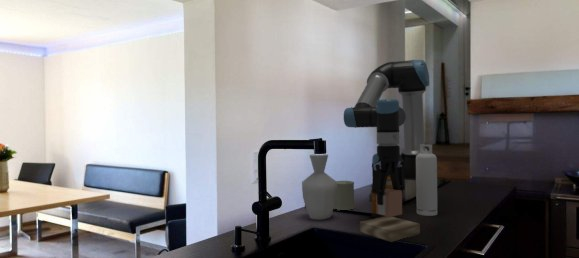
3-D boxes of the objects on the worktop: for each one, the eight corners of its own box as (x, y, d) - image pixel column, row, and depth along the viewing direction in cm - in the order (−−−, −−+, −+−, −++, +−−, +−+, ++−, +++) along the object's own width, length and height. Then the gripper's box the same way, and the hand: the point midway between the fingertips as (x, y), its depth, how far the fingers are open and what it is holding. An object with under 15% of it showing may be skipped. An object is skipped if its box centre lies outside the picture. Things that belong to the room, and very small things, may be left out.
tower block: (376, 213, 135) (376, 190, 134) (388, 211, 138) (388, 188, 138) (389, 216, 130) (389, 192, 129) (402, 214, 133) (401, 190, 133)
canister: (396, 215, 157) (395, 165, 157) (394, 222, 147) (393, 169, 147) (373, 214, 160) (372, 165, 160) (369, 221, 150) (368, 168, 149)
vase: (318, 211, 168) (317, 152, 167) (345, 216, 158) (343, 154, 157) (294, 217, 158) (293, 155, 157) (321, 223, 148) (320, 157, 147)
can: (345, 211, 166) (344, 183, 166) (329, 208, 173) (328, 181, 173) (358, 208, 172) (358, 180, 172) (342, 205, 179) (342, 178, 179)
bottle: (438, 211, 162) (437, 144, 162) (436, 216, 155) (435, 145, 155) (417, 210, 166) (416, 144, 165) (415, 214, 159) (414, 145, 158)
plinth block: (359, 233, 136) (359, 221, 136) (388, 226, 144) (388, 215, 144) (391, 243, 124) (390, 230, 124) (420, 235, 132) (420, 223, 132)
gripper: (376, 146, 125) (377, 219, 125) (415, 144, 135) (416, 211, 136) (359, 145, 131) (360, 214, 132) (398, 143, 142) (399, 207, 142)
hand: (389, 212), depth 134 cm, fingers closed on tower block, 6 cm apart
